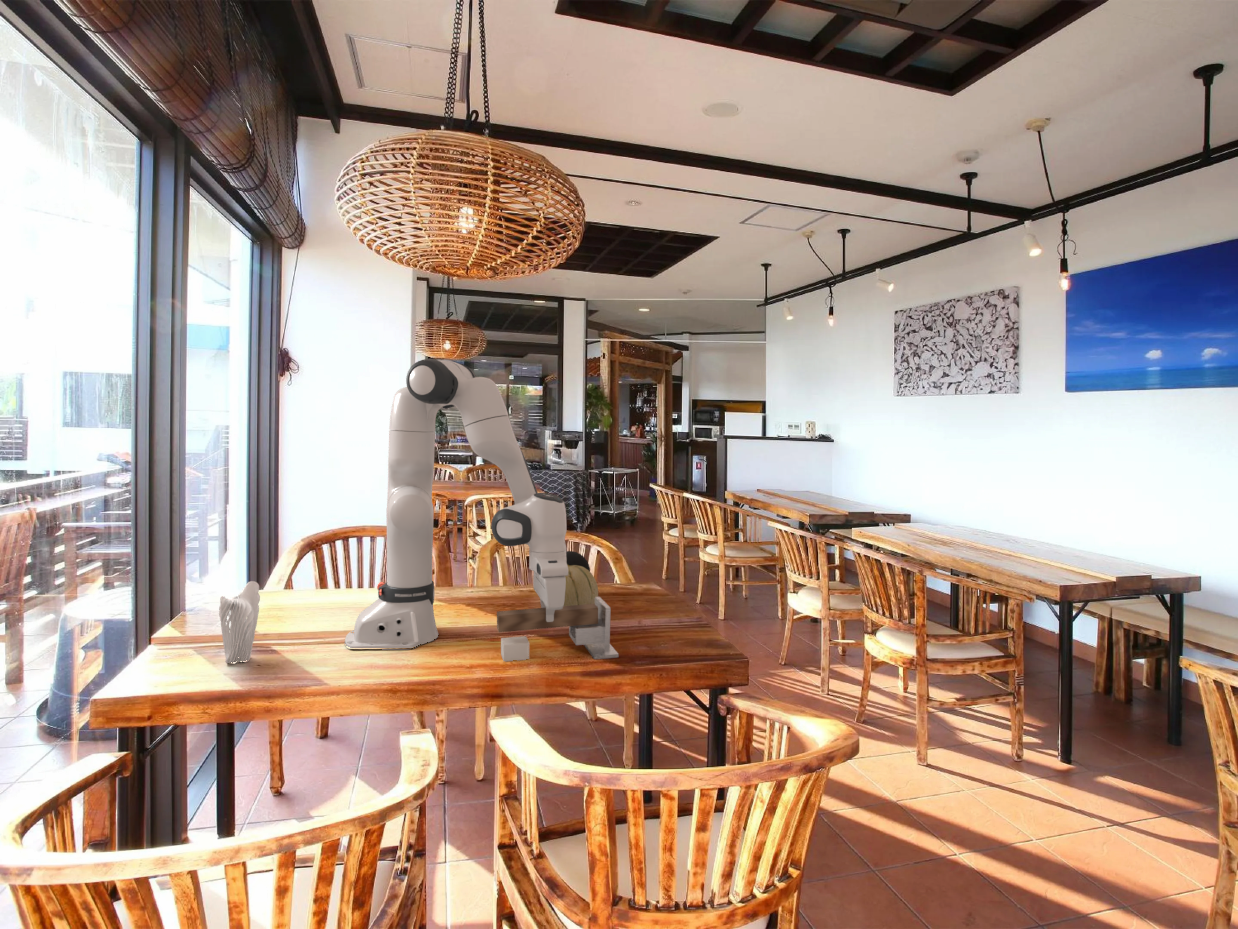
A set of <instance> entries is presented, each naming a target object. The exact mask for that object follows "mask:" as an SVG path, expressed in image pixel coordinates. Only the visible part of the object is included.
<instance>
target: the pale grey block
mask: <svg viewBox="0 0 1238 929" xmlns="http://www.w3.org/2000/svg"><path fill="white" fill-rule="evenodd" d="M500 655H501V658H502V661H503V662H504V661H505V662H514V661H513V660H517V661H525V660H526V659H529V660H530V641H529V639H528V637H527V635H525V636H522V635H521V636H511V637H501V638H500ZM526 661H527V660H526Z"/></svg>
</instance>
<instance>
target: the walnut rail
mask: <svg viewBox="0 0 1238 929" xmlns="http://www.w3.org/2000/svg"><path fill="white" fill-rule="evenodd" d="M545 613H546V608H541V607H538V608H526V609H525V608H524V609H511V610H499V611H496V628H497V632H498V633H509V632H520V631H532V630H542V629H555V628H565V627H568V628H569V626H579V625H590V624H598V607H597V606H596V605H595V604H585V605H573V606H563V608H562V609H560V610H555V612H554V621H553V622H547V621H546V619H545Z"/></svg>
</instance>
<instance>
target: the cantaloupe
mask: <svg viewBox="0 0 1238 929" xmlns="http://www.w3.org/2000/svg"><path fill="white" fill-rule="evenodd" d="M565 578H566V588H565V601H564V606H573V605H585V604H595V597H599V589H598V587H599V586H598V583H597V581H596V580H597V579H596V578H595V576H594V575H593V573H591V570H590V571H589V570H587V569H586V568H584V567H582V566H577V565H572V566H570V565H568V575H567V576H565Z"/></svg>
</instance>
